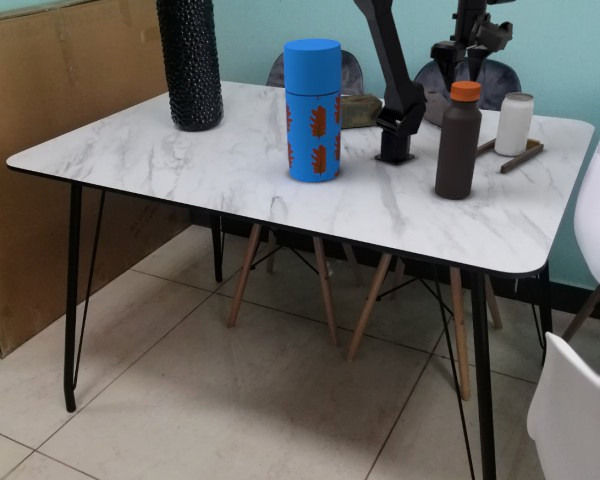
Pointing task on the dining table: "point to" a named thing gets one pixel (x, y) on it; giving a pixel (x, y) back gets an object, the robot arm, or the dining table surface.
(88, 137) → the dining table surface
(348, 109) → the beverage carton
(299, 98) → the thermos
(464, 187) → the bottle
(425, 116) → the perforated stone tool
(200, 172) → the dining table surface
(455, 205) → the dining table surface
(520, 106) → the can
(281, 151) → the dining table surface
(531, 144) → the brown wooden bent bar
